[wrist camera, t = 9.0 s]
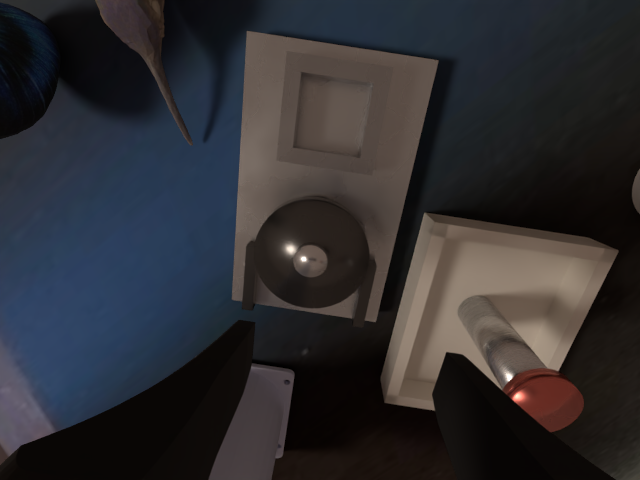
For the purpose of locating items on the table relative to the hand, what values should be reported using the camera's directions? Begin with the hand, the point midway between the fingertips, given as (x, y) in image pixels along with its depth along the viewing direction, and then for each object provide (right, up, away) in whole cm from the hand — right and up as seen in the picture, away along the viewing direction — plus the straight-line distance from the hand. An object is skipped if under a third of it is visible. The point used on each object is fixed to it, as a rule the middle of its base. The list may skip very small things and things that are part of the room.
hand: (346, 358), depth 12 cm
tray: (+10, -1, +11) cm, 15 cm away
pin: (+10, 0, +10) cm, 14 cm away
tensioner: (-1, +7, +8) cm, 11 cm away
